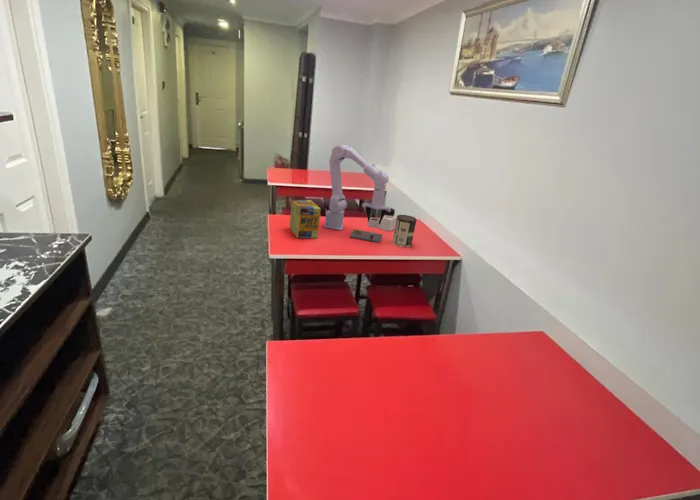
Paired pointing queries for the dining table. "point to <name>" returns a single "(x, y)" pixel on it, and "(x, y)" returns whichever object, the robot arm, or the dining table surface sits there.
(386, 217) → the medicine bottle
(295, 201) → the protein box
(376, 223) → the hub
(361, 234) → the shaft block
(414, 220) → the coffee can
